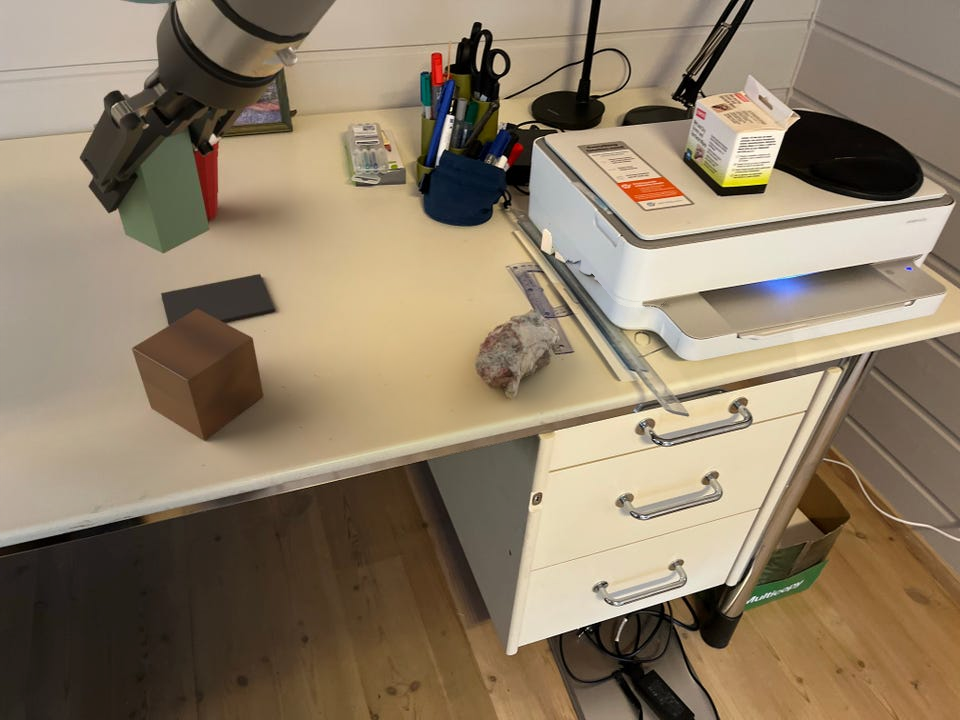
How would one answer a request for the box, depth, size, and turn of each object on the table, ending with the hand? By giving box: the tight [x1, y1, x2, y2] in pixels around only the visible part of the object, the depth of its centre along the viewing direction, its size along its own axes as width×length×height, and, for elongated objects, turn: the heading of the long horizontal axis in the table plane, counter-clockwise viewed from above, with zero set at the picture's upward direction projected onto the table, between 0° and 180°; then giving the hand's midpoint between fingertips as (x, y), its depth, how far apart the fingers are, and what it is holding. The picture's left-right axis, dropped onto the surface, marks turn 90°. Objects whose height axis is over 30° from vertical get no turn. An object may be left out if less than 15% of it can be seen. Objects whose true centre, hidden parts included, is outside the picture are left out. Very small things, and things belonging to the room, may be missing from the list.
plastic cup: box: [194, 134, 222, 222], centre depth 103 cm, size 11×11×12 cm
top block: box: [93, 123, 210, 254], centre depth 63 cm, size 5×5×10 cm
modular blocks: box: [540, 228, 567, 263], centre depth 100 cm, size 20×7×4 cm, turn 44°
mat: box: [160, 273, 276, 326], centre depth 91 cm, size 12×8×1 cm, turn 115°
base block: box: [131, 309, 264, 442], centre depth 76 cm, size 8×8×8 cm
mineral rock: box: [474, 308, 561, 400], centre depth 84 cm, size 15×8×4 cm, turn 142°
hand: (131, 185), depth 66 cm, fingers closed on top block, 5 cm apart
